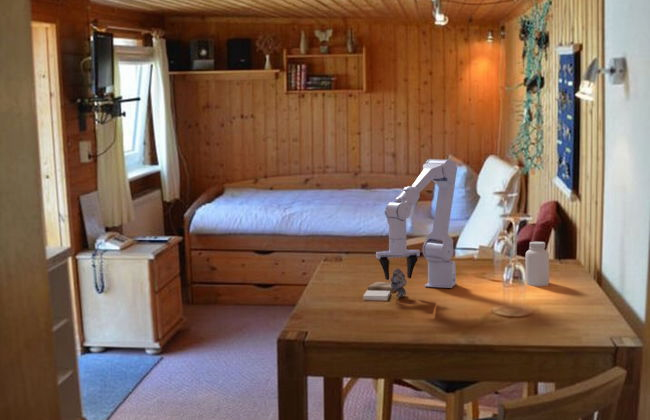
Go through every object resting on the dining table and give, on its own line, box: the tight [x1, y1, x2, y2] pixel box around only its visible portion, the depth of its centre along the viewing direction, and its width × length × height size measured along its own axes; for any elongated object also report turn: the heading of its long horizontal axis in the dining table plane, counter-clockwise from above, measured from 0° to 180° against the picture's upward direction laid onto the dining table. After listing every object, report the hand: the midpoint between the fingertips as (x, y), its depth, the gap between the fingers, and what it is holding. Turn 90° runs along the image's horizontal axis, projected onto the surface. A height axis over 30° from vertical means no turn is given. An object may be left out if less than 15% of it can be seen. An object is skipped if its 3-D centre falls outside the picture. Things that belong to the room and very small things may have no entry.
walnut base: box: [367, 281, 397, 294], centre depth 276 cm, size 9×9×2 cm
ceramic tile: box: [362, 289, 391, 302], centre depth 266 cm, size 8×8×2 cm
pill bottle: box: [525, 241, 550, 287], centre depth 277 cm, size 8×8×15 cm
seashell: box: [390, 268, 408, 299], centre depth 264 cm, size 5×5×10 cm
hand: (398, 278), depth 264 cm, fingers open, 7 cm apart
